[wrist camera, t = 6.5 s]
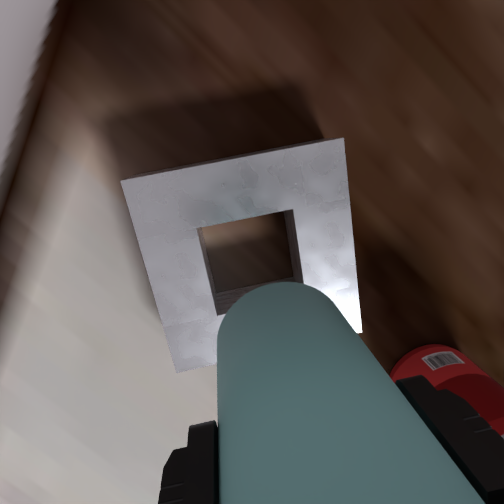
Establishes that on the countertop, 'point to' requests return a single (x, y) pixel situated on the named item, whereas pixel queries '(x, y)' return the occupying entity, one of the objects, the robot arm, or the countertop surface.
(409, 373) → the canned food
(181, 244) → the housing
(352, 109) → the countertop surface
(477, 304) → the countertop surface
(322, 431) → the teal cylinder
